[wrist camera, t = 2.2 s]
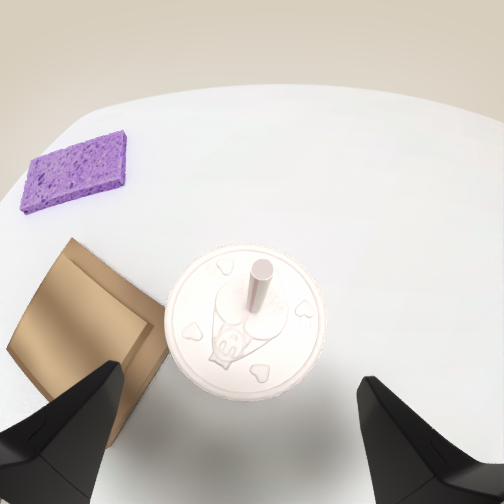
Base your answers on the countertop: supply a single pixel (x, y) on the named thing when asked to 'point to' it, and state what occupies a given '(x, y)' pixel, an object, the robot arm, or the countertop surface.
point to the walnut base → (147, 351)
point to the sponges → (75, 172)
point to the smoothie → (245, 322)
